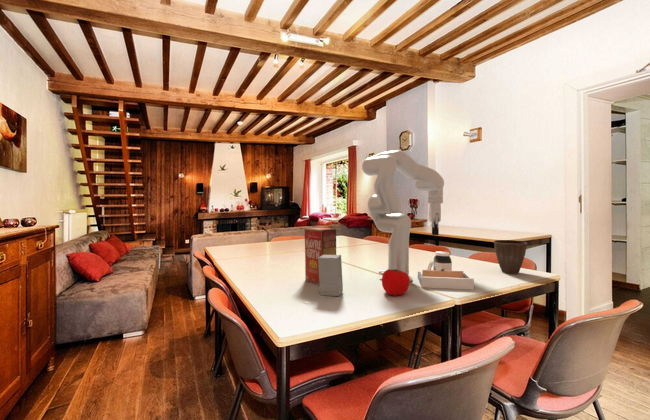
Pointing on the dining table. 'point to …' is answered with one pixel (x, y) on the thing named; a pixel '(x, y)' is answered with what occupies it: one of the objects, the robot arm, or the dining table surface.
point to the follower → (442, 273)
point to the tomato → (395, 282)
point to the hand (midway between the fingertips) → (435, 234)
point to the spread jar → (441, 261)
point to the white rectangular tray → (446, 282)
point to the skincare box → (330, 275)
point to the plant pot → (510, 255)
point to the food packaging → (317, 249)
